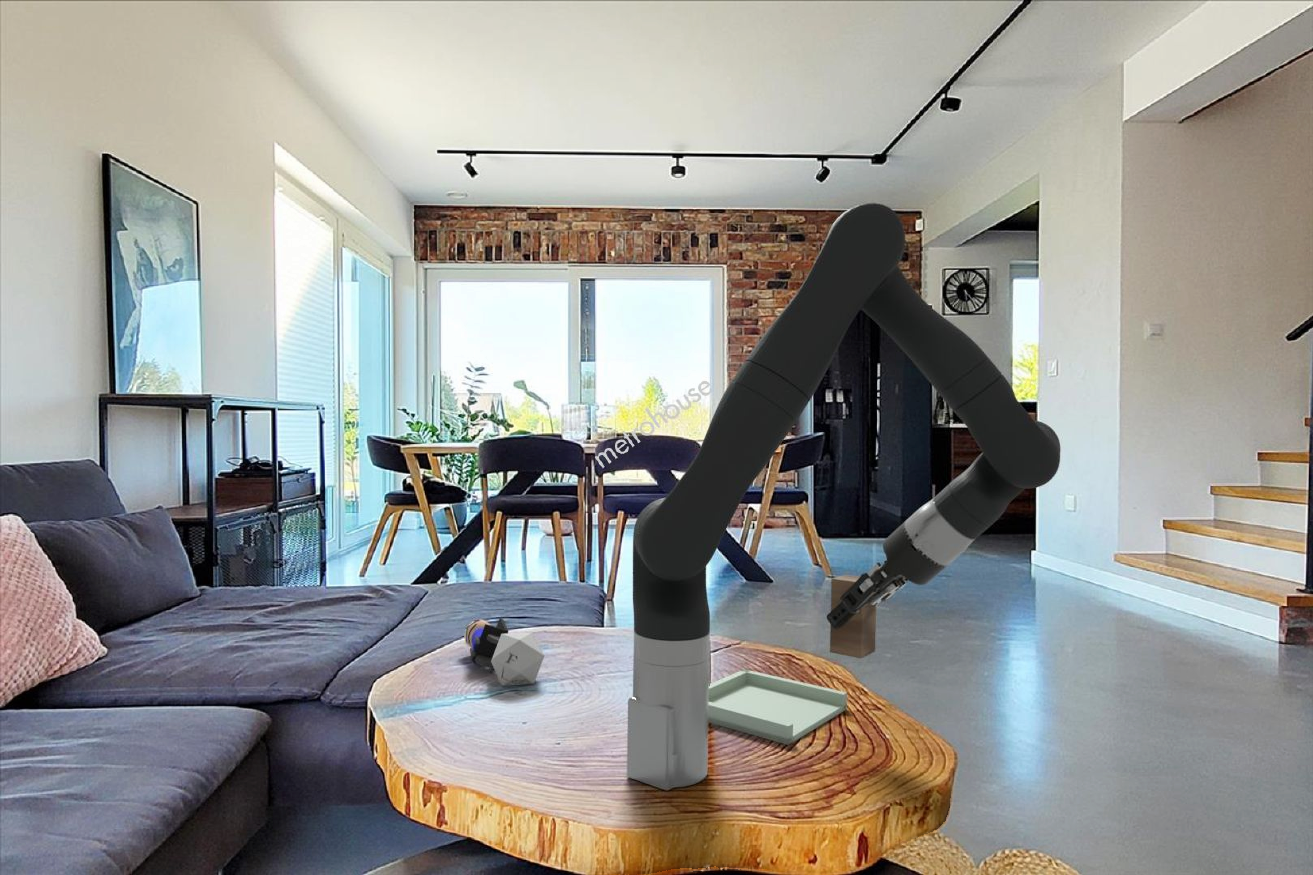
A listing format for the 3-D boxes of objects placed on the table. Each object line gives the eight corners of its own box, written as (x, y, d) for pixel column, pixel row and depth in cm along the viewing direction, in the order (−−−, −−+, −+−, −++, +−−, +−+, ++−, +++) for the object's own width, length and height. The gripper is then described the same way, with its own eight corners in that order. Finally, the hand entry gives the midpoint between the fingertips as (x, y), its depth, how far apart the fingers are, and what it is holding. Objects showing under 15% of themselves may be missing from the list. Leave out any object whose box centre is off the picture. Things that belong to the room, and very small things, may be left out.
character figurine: (468, 678, 137) (465, 654, 152) (512, 672, 139) (505, 649, 153) (465, 631, 137) (462, 612, 151) (509, 626, 139) (502, 607, 153)
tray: (788, 744, 110) (788, 726, 110) (679, 714, 121) (679, 697, 121) (846, 709, 124) (847, 692, 124) (744, 684, 135) (744, 669, 135)
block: (861, 658, 109) (862, 582, 109) (829, 652, 112) (831, 578, 112) (875, 651, 113) (876, 578, 112) (844, 645, 115) (846, 574, 115)
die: (479, 684, 135) (482, 647, 129) (508, 647, 142) (512, 611, 136) (522, 707, 133) (527, 670, 127) (550, 669, 140) (555, 632, 134)
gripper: (928, 514, 113) (844, 590, 121) (887, 522, 102) (797, 605, 109) (967, 557, 110) (878, 632, 117) (928, 571, 99) (833, 653, 106)
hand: (840, 619), depth 113 cm, fingers closed on block, 4 cm apart
